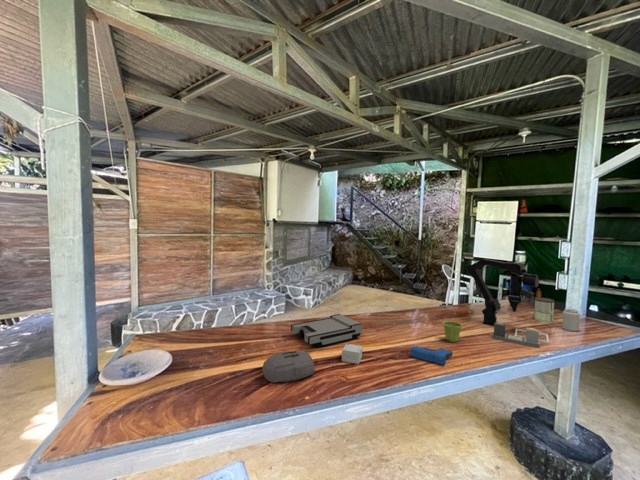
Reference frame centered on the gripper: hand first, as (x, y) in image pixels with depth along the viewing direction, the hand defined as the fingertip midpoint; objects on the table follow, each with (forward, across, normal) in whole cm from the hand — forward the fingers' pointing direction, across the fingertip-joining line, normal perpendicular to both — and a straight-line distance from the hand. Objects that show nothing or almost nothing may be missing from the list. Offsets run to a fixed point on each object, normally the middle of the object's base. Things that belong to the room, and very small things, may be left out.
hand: (514, 310), depth 163 cm
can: (+12, +23, -27) cm, 37 cm away
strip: (+12, -20, -2) cm, 23 cm away
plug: (+10, -19, -8) cm, 24 cm away
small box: (+12, -94, +55) cm, 110 cm away
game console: (+13, -82, +78) cm, 114 cm away
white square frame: (+12, -6, -8) cm, 16 cm away
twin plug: (+11, -20, +6) cm, 23 cm away
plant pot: (+12, -41, +25) cm, 50 cm away
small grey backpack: (+13, -122, +68) cm, 140 cm away
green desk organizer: (+12, +37, -14) cm, 41 cm away
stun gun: (+13, -68, +28) cm, 75 cm away
